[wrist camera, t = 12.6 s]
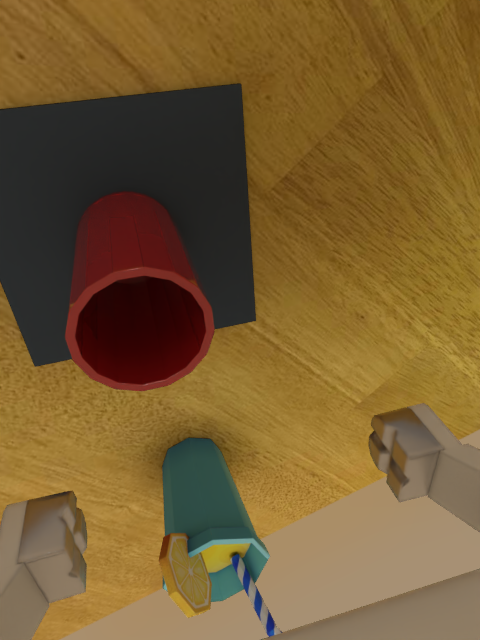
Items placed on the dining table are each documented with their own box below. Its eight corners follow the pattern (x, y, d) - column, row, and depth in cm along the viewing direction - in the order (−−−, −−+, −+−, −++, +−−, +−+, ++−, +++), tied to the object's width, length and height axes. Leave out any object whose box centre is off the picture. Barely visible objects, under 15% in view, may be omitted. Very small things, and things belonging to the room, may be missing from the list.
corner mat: (-66, 116, 23) (-67, 116, 23) (240, 83, 26) (241, 83, 25) (35, 364, 32) (34, 366, 31) (254, 318, 34) (256, 320, 34)
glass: (63, 199, 26) (46, 283, 17) (169, 184, 27) (205, 255, 18) (90, 292, 30) (87, 404, 21) (184, 275, 31) (220, 374, 22)
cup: (280, 457, 44) (352, 621, 31) (229, 507, 45) (278, 681, 33) (162, 404, 36) (196, 590, 24) (108, 466, 38) (113, 668, 26)
